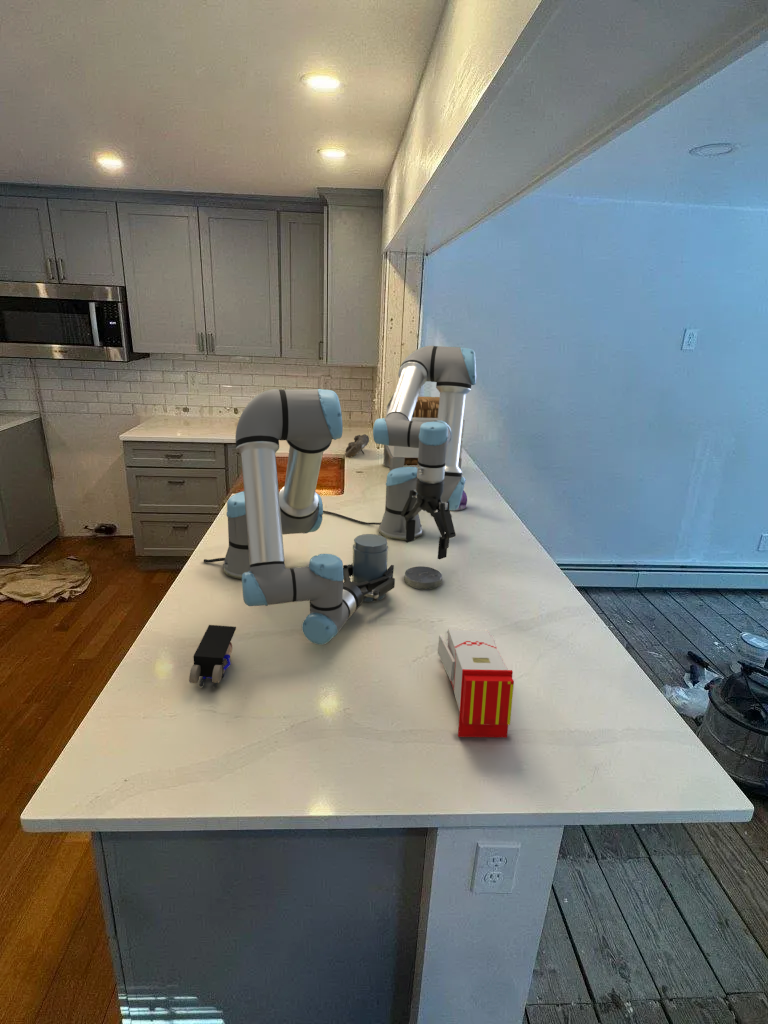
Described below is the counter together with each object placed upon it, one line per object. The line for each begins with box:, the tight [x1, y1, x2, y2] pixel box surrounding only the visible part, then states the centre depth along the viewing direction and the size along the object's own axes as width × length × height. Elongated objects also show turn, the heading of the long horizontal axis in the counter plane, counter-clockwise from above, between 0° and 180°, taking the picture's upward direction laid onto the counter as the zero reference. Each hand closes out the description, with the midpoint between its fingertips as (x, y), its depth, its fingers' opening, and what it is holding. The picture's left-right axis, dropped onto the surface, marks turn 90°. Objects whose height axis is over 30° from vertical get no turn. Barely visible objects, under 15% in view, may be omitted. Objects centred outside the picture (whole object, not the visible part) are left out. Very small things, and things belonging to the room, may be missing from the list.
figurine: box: [455, 490, 468, 511], centre depth 227 cm, size 9×10×15 cm
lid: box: [403, 565, 443, 590], centre depth 166 cm, size 11×11×2 cm
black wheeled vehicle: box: [188, 624, 237, 689], centre depth 120 cm, size 7×8×15 cm
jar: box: [351, 533, 389, 603], centre depth 155 cm, size 10×10×16 cm
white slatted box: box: [383, 393, 465, 472], centre depth 268 cm, size 34×33×41 cm
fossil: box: [344, 433, 370, 458], centre depth 304 cm, size 22×10×15 cm
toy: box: [437, 628, 515, 738], centre depth 117 cm, size 12×13×30 cm
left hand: (375, 566), depth 159 cm, fingers closed on jar, 9 cm apart
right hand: (425, 549), depth 164 cm, fingers open, 13 cm apart
